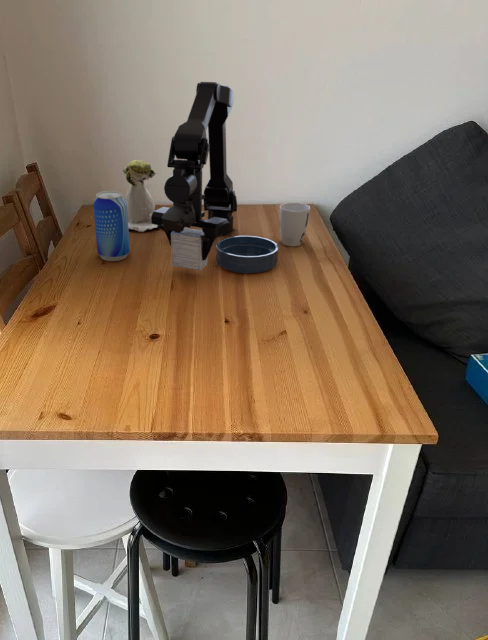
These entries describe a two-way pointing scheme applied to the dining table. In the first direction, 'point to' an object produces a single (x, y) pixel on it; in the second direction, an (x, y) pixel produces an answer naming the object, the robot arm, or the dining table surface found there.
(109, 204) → the beer can
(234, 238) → the bowl
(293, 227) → the cup
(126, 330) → the dining table surface
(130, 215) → the white figurine
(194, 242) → the medicine box
